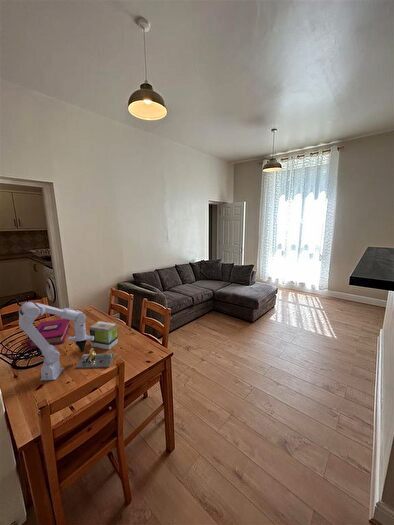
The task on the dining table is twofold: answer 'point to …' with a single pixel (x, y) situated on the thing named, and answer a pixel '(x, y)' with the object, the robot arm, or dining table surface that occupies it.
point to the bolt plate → (95, 363)
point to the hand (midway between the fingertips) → (82, 350)
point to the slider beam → (97, 356)
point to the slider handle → (91, 354)
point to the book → (51, 332)
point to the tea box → (104, 334)
